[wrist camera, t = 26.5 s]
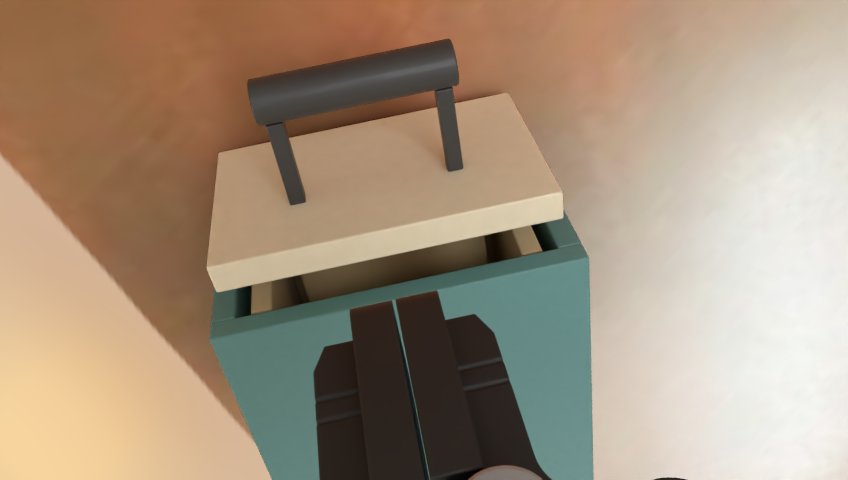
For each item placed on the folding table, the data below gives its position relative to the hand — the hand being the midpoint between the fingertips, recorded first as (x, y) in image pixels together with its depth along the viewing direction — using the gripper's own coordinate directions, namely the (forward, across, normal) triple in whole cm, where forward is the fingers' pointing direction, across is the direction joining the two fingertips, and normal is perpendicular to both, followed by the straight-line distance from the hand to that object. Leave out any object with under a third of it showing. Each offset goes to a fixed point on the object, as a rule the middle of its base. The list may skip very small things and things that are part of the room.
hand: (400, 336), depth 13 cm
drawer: (+20, 0, +11) cm, 23 cm away
